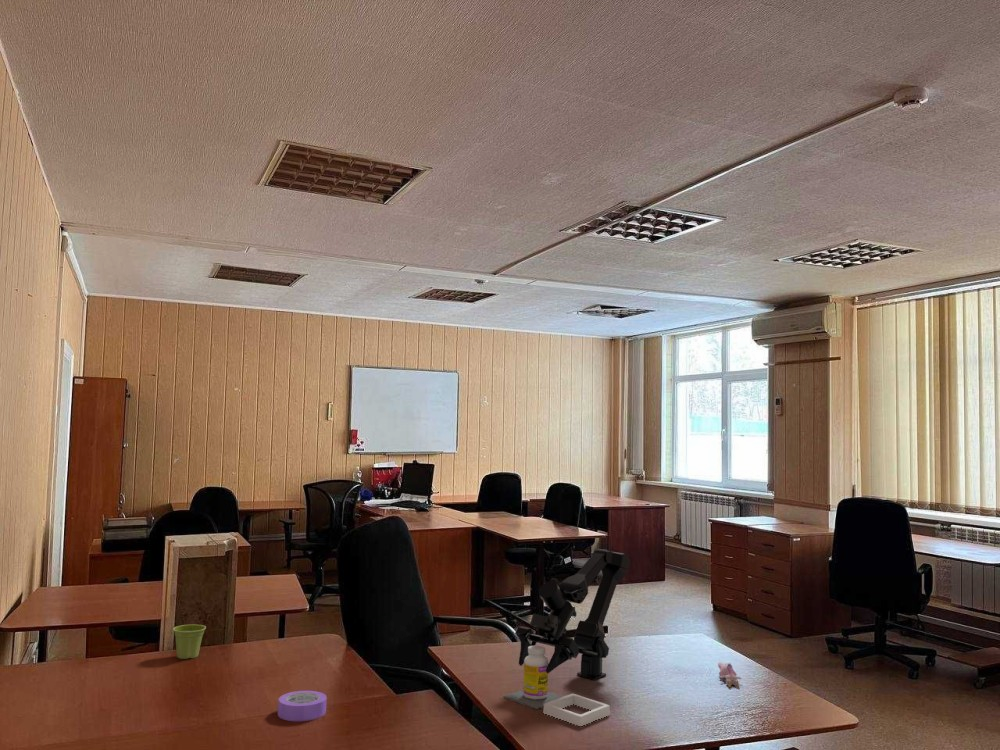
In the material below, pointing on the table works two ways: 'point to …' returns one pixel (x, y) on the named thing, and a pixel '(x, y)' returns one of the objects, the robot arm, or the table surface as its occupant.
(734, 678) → the pink plastic figurine
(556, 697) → the mat
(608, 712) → the holder
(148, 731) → the table surface
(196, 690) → the table surface
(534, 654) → the supplement bottle
